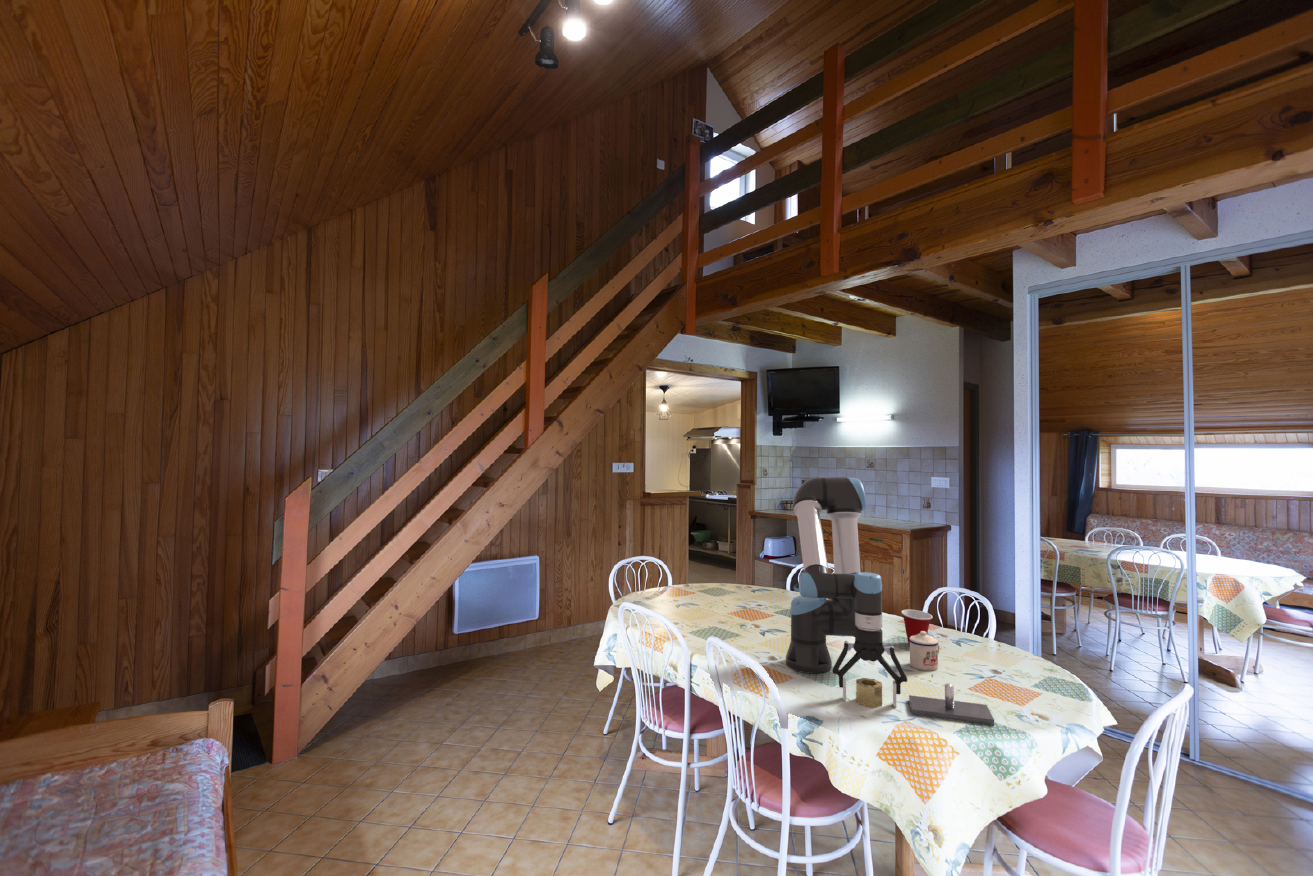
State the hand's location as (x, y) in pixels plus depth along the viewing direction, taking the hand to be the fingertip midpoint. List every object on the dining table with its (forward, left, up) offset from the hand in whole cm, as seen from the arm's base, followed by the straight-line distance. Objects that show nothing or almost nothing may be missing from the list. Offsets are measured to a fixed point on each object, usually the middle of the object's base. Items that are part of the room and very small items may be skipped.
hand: (869, 702), depth 170 cm
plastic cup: (+18, +61, 0) cm, 64 cm away
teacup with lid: (+19, +38, 0) cm, 43 cm away
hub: (0, 0, 0) cm, 0 cm away
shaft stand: (+21, 0, 0) cm, 21 cm away
